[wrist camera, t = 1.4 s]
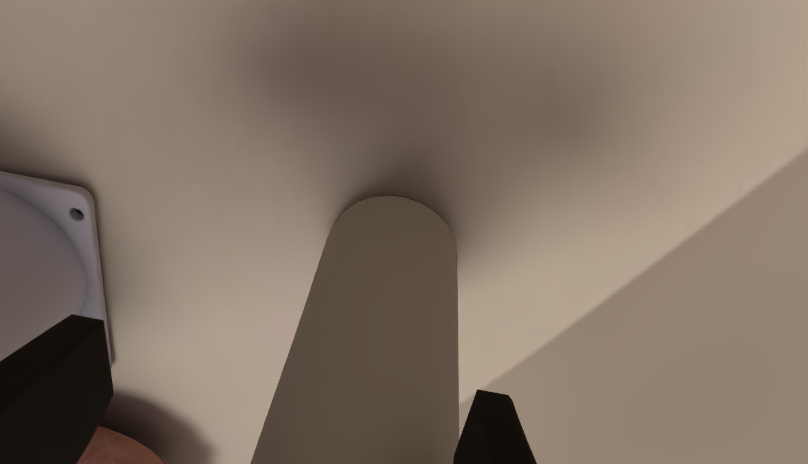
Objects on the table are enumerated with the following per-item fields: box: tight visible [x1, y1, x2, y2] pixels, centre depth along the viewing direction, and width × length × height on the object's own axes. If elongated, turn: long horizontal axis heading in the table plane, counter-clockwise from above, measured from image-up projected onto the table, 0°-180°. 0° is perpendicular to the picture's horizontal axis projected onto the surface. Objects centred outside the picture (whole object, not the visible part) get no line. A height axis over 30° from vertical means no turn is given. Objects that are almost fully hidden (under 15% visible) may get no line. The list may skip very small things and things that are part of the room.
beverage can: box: [251, 196, 459, 464], centre depth 17 cm, size 5×5×12 cm
